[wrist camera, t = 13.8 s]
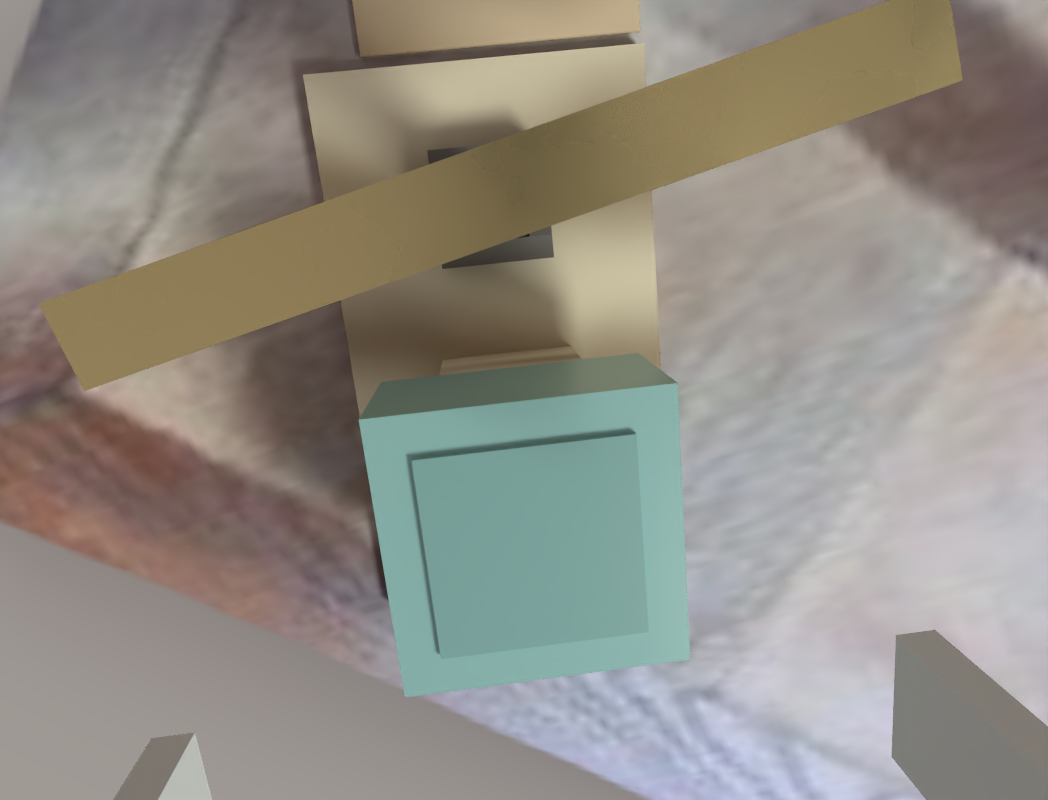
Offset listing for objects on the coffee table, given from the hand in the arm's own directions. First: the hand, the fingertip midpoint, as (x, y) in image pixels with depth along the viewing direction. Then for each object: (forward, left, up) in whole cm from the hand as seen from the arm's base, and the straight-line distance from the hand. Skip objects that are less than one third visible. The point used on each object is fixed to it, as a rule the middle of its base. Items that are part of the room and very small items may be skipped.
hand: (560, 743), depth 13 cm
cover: (0, 0, -13) cm, 13 cm away
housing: (-5, 0, -16) cm, 17 cm away
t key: (-10, 0, -16) cm, 19 cm away
